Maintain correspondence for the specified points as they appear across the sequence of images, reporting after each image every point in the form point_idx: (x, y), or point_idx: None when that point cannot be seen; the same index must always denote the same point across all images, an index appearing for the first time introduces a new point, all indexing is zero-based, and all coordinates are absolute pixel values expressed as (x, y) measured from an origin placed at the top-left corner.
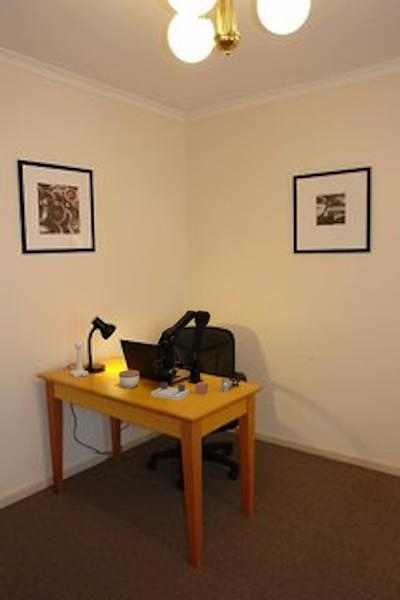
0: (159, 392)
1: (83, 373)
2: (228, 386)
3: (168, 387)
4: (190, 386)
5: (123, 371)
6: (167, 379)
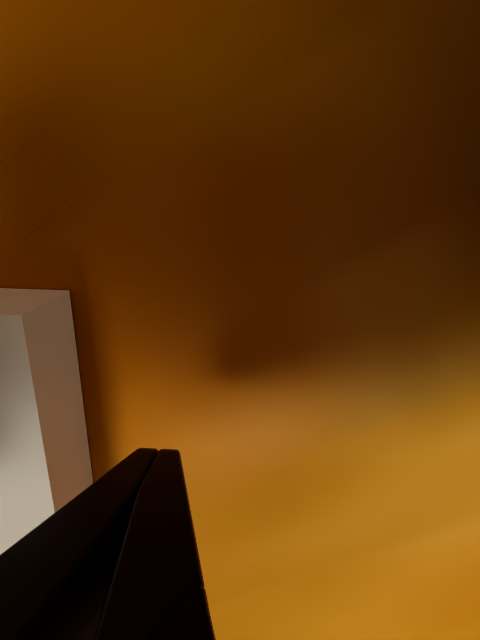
0: None
1: None
2: None
3: (18, 480)
4: (445, 614)
5: None
6: (12, 557)
